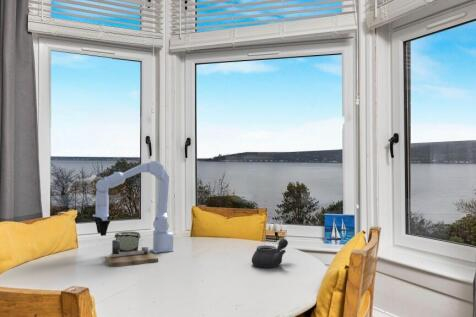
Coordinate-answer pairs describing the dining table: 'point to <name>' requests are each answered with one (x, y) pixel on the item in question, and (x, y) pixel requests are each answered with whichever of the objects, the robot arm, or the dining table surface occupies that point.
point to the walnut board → (131, 259)
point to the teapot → (269, 255)
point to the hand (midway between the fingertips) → (101, 234)
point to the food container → (128, 241)
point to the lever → (117, 252)
